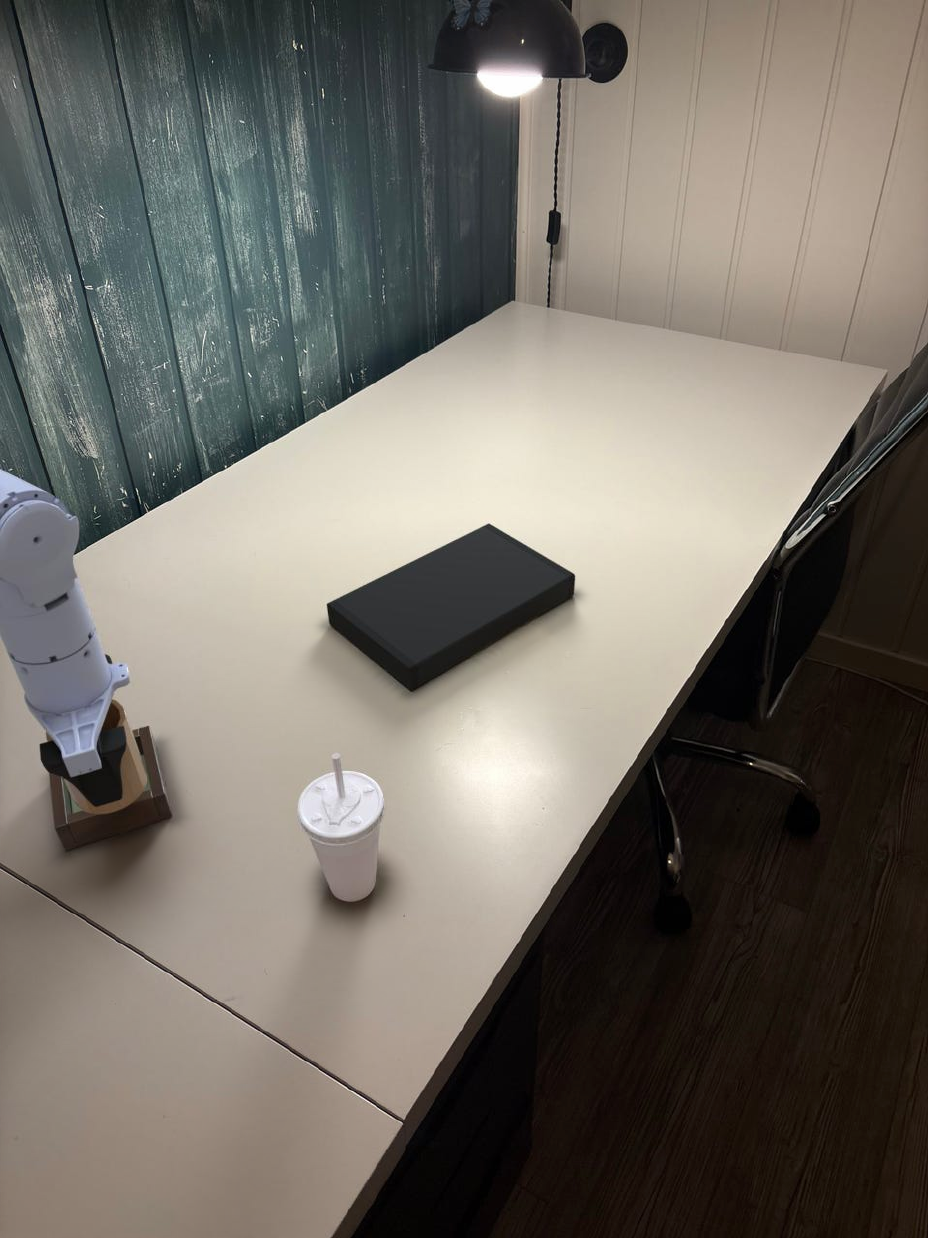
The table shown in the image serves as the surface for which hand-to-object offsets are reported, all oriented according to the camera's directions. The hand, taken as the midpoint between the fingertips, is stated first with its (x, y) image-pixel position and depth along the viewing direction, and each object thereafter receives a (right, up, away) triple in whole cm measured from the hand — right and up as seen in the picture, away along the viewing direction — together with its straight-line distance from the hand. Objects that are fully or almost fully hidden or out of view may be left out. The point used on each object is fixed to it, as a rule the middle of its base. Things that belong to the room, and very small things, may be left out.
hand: (103, 772), depth 71 cm
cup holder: (-3, -4, +10) cm, 11 cm away
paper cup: (0, -1, +1) cm, 2 cm away
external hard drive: (+27, +13, +30) cm, 42 cm away
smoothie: (+19, -9, +2) cm, 21 cm away
